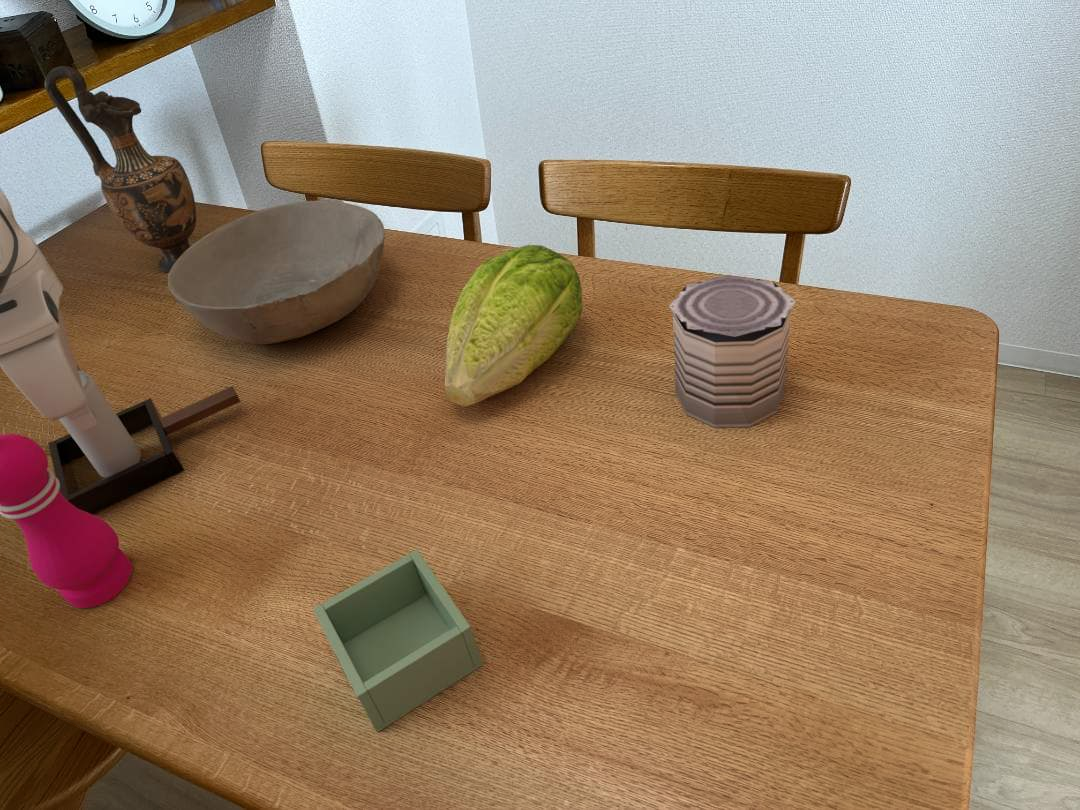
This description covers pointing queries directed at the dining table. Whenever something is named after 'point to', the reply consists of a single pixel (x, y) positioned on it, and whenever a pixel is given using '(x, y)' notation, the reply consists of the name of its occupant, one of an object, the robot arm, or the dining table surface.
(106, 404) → the beverage can
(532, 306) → the lettuce
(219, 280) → the bowl
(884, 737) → the dining table surface
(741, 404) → the can
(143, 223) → the vase
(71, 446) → the handled rectangular frame
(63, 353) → the robot arm
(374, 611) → the bin
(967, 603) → the dining table surface
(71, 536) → the pepper mill
